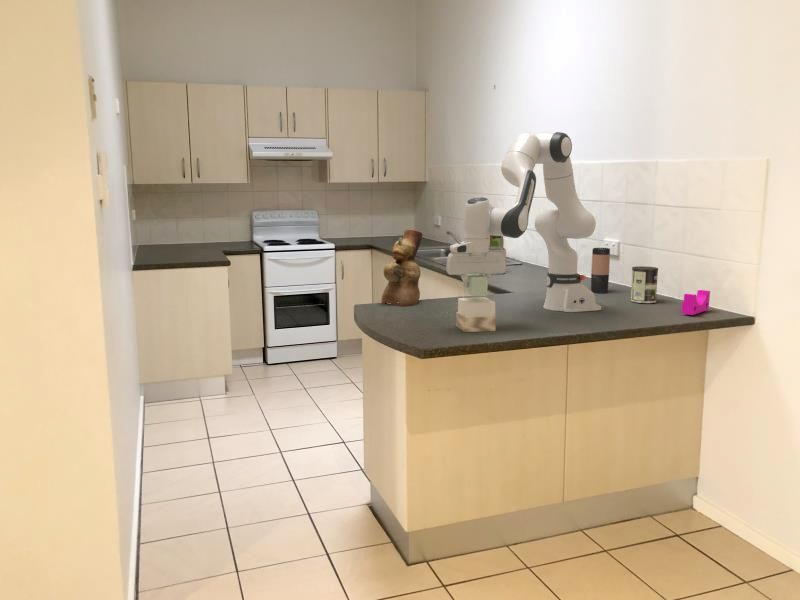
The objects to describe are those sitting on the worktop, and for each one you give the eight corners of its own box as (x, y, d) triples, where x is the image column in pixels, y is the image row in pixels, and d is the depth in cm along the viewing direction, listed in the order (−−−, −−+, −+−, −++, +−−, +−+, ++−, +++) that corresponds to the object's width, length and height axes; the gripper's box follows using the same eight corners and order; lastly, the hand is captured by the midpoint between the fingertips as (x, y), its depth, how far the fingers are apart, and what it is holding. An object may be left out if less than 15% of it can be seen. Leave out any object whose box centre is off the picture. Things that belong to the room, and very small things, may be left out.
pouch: (502, 275, 371) (504, 228, 367) (480, 274, 375) (481, 227, 371) (506, 272, 382) (507, 226, 378) (485, 271, 386) (486, 226, 381)
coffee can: (656, 299, 295) (658, 266, 293) (656, 303, 286) (658, 269, 283) (630, 298, 299) (632, 265, 296) (630, 302, 289) (631, 268, 287)
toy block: (692, 307, 278) (694, 289, 277) (708, 309, 274) (710, 290, 273) (676, 312, 268) (677, 293, 267) (692, 314, 263) (694, 295, 262)
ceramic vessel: (373, 304, 285) (373, 231, 280) (403, 297, 302) (403, 228, 297) (405, 308, 276) (405, 232, 271) (435, 300, 294) (435, 229, 289)
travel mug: (611, 293, 311) (614, 248, 308) (597, 294, 308) (599, 249, 305) (600, 291, 318) (602, 247, 315) (586, 292, 315) (588, 248, 312)
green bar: (478, 290, 244) (479, 273, 243) (487, 295, 233) (487, 277, 232) (464, 290, 243) (464, 273, 242) (472, 296, 232) (472, 278, 231)
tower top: (485, 311, 245) (485, 297, 245) (495, 316, 236) (495, 301, 235) (458, 312, 243) (458, 298, 242) (466, 317, 234) (467, 303, 233)
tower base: (486, 325, 246) (486, 311, 245) (495, 331, 236) (495, 317, 235) (455, 326, 245) (456, 312, 244) (463, 332, 234) (463, 318, 233)
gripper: (503, 245, 240) (502, 285, 242) (445, 246, 237) (444, 286, 239) (509, 246, 234) (508, 287, 236) (449, 247, 231) (448, 289, 233)
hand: (475, 287), depth 238 cm, fingers closed on green bar, 5 cm apart
